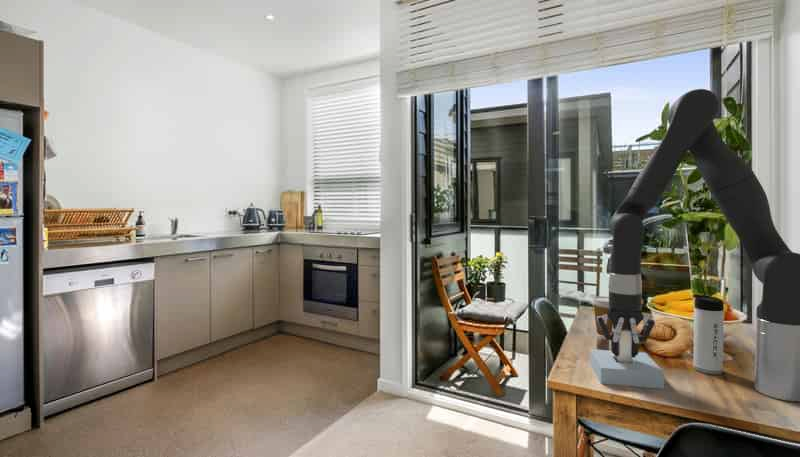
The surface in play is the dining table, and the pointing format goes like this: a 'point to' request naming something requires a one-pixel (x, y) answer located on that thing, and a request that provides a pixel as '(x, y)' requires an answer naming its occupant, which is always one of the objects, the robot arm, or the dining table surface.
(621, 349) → the long pin
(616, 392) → the dining table surface
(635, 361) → the jig block
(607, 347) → the short pin
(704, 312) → the travel mug
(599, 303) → the disposable coffee cup
